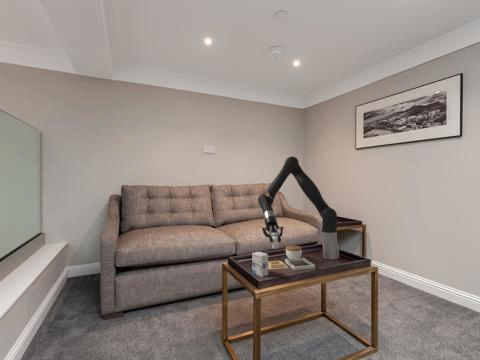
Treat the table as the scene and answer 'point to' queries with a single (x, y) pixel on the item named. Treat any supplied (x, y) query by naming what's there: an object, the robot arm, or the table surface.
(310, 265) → the parts tray
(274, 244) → the fuse
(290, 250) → the lidded jar
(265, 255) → the ink box
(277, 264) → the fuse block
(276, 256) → the table surface
